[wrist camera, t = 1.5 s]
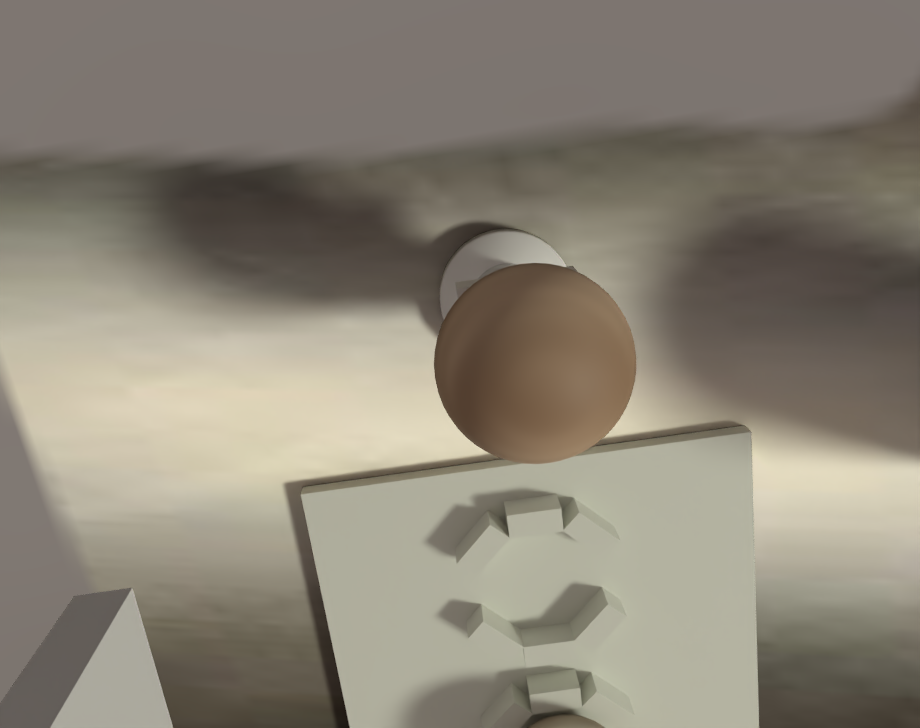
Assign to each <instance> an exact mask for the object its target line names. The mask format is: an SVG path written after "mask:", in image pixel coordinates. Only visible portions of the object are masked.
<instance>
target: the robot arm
mask: <svg viewBox="0 0 920 728" xmlns="http://www.w3.org/2000/svg"><path fill="white" fill-rule="evenodd" d="M0 728H173V726H172V722H171V719H170V716H169V712H168V709H167V705H166V702H165V698H164V695H163V692H162V688H161V685H160V681H159V678H158V674H157V671H156V668H155V664H154V661H153V657H152V654H151V650H150V647H149V644H148V640H147V637H146V633H145V630H144V626H143V623H142V620H141V616H140V613H139V609H138V606H137V602H136V599H135V596H134V592H133V589H132V588H127V589H120V590H113V591H106V592H99V593H92V594H85V595H78V596H74V597H73V599H72V600H71V602H70V603H69V604H68V606H67V607H66V609H65V610H64V612H63V613H62V615H61V616H60V618H59V619H58V620H57V622H56V623H55V625H54V626H53V628H52V629H51V630H50V632H49V633H48V635H47V636H46V638H45V639H44V641H43V642H42V643H41V645H40V647H39V648H38V649H37V651H36V652H35V654H34V655H33V657H32V658H31V659H30V661H29V662H28V664H27V665H26V667H25V668H24V669H23V671H22V672H21V674H20V675H19V677H18V678H17V680H16V681H15V682H14V684H13V685H12V687H11V688H10V690H9V691H8V693H7V694H6V695H5V697H4V698H3V700H2V701H1V703H0Z"/></svg>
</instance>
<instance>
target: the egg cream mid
mask: <svg viewBox="0 0 920 728" xmlns="http://www.w3.org/2000/svg"><path fill="white" fill-rule="evenodd" d="M527 728H605V727H604V726H602V725H601V724H599V723H597V722H596V721H594V720H591V719H589V718H586V717H583V716H579V715H573V714H559V715H553V716H549V717H546V718H543V719H541V720H538V721H536V722H535V723H533V724H531V725H530V726H529V727H527Z"/></svg>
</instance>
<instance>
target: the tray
mask: <svg viewBox="0 0 920 728" xmlns="http://www.w3.org/2000/svg"><path fill="white" fill-rule="evenodd" d="M301 499H302V503H303V508H304V513H305V518H306V522H307V527H308V532H309V537H310V541H311V546H312V551H313V556H314V560H315V565H316V570H317V575H318V579H319V584H320V589H321V594H322V598H323V603H324V608H325V613H326V617H327V622H328V627H329V632H330V636H331V641H332V646H333V651H334V655H335V660H336V665H337V670H338V674H339V679H340V684H341V688H342V693H343V698H344V703H345V707H346V712H347V717H348V722H349V726H350V728H527V727H529V726H530V725H531V724H533V723H535V722H536V721H538V720H541V719H543V718H546V717H549V716H553V715H559V714H573V715H579V716H583V717H586V718H589V719H591V720H594V721H596V722H597V723H599V724H601V725H602V726H604V727H605V728H759V710H758V671H757V633H756V594H755V556H754V518H753V479H752V441H751V431H750V430H749V429H748V428H747V427H746V426H738V427H730V428H723V429H716V430H709V431H702V432H695V433H687V434H680V435H673V436H666V437H659V438H651V439H644V440H637V441H630V442H623V443H616V444H608V445H601V446H594V447H590V448H589V449H587V450H585V451H584V452H582V453H580V454H578V455H575V456H573V457H571V458H568V459H564V460H561V461H557V462H552V463H544V464H524V463H518V462H512V461H509V460H505V459H501V460H493V461H486V462H479V463H472V464H465V465H457V466H450V467H443V468H436V469H429V470H422V471H414V472H407V473H400V474H393V475H386V476H378V477H371V478H364V479H357V480H350V481H342V482H335V483H328V484H321V485H314V486H307V487H303V488H302V492H301Z"/></svg>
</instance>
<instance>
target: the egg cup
mask: <svg viewBox="0 0 920 728" xmlns="http://www.w3.org/2000/svg"><path fill="white" fill-rule="evenodd" d="M526 263H546V264H553V265H558V266H562V267H565V268H568V269H571V270H574V271H576V272H577V270H576V269H575V268H574V267H573V266H569V267H567V266H566V265H565V263H564V261H563V260H562V258H561V257H560V256H559V255H558V254H557V252H556V251H555V250H554V249H553V248H552V247H551V246H550V245H549V244H548V243H547V242H545V241H544V240H542V239H541V238H539V237H537V236H535V235H533V234H531V233H528V232H525V231H521V230H516V229H497V230H492V231H488V232H485V233H482V234H479V235H477V236H475V237H473V238H472V239H470V240H469V241H467V242H466V243H465V244H463V245H462V246H461V247H460V248H459V249H458V250H457V251H456V252H455V253H454V255H453V256H452V257H451V259H450V260H449V262H448V264H447V266H446V268H445V270H444V273H443V276H442V279H441V284H440V306H441V312H442V317H443V320H444V319H445V317H446V315H447V313H448V312H449V310H450V309H451V307H452V306H453V304H454V303H455V302H456V301H457V299H458V298H459V297H460V296H461V295H462V294H463V293H464V292H465V291H466V290H467V289H468V288H469V287H470V286H472V285H473V284H474V283H475V282H477V281H478V280H480V279H481V278H483V277H484V276H486V275H488V274H490V273H492V272H494V271H496V270H499V269H502V268H505V267H508V266H513V265H518V264H526Z"/></svg>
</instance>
